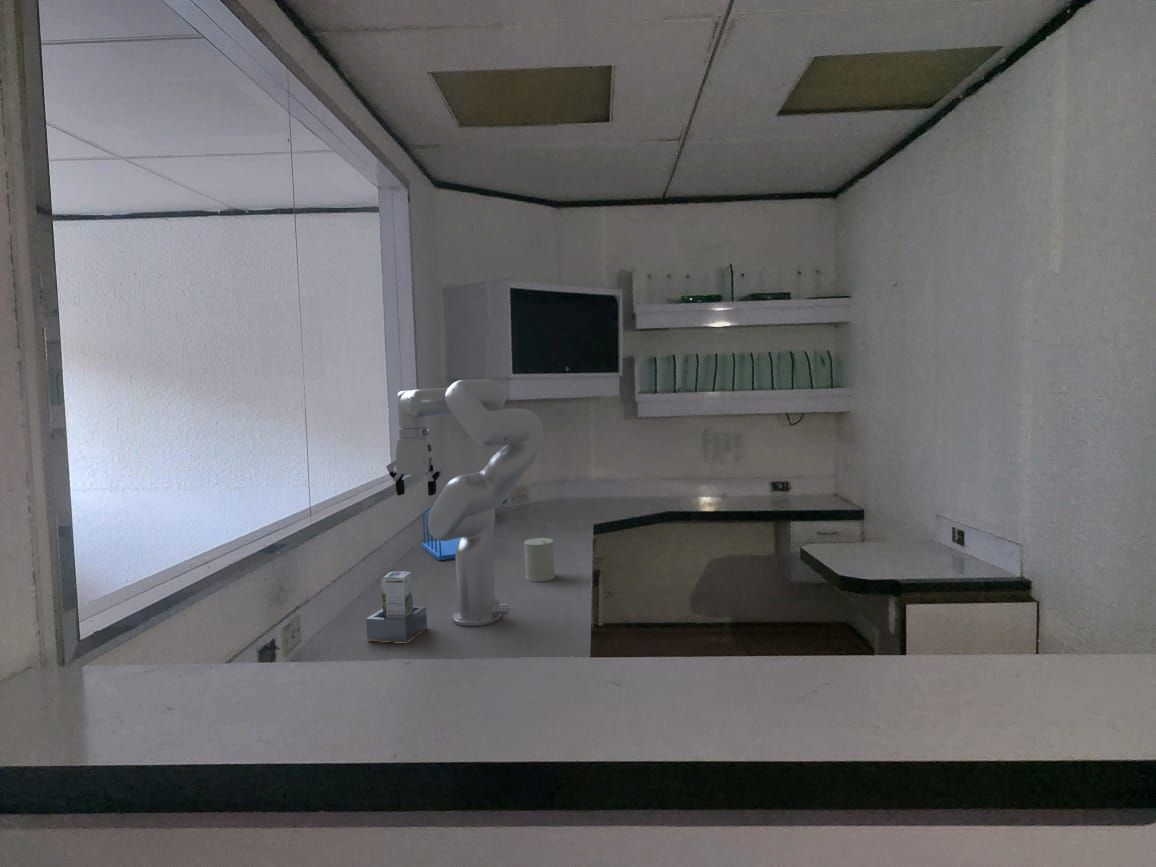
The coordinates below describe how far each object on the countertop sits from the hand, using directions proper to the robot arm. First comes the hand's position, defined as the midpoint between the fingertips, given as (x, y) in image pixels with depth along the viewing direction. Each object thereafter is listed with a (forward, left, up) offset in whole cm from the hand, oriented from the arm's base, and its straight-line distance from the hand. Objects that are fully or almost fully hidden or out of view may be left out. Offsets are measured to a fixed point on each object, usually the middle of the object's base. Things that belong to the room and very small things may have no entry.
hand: (416, 494), depth 190 cm
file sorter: (+16, -55, -31) cm, 65 cm away
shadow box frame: (-7, +26, -30) cm, 41 cm away
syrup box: (-7, +26, -30) cm, 40 cm away
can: (-27, -26, -31) cm, 48 cm away
